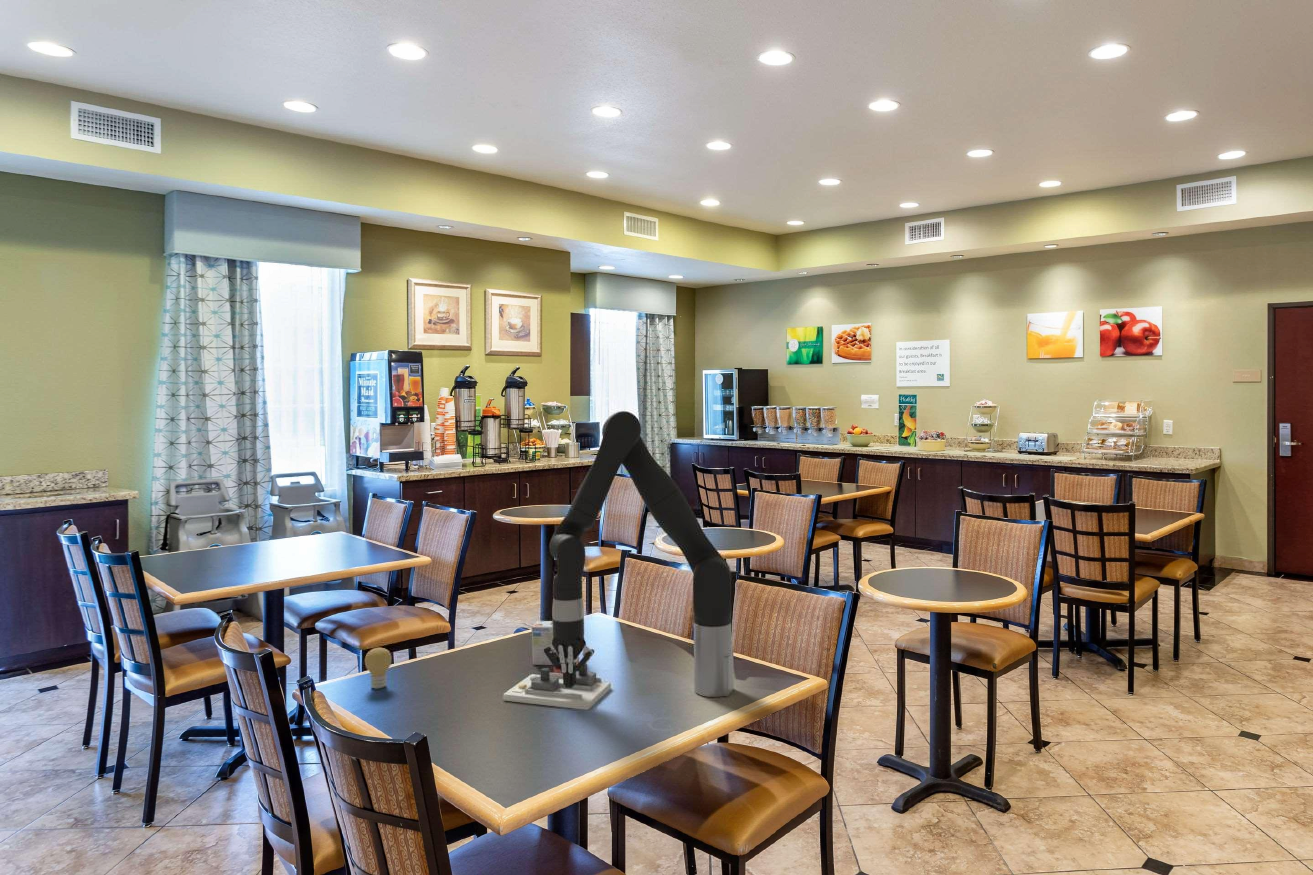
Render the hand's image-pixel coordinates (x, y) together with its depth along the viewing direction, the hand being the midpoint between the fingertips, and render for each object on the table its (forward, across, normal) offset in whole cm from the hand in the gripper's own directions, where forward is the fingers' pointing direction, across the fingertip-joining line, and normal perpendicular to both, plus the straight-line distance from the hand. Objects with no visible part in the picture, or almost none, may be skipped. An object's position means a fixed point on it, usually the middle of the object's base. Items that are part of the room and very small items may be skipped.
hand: (569, 686), depth 195 cm
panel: (+3, +4, -2) cm, 5 cm away
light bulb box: (+3, +16, -25) cm, 30 cm away
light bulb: (+3, +50, +6) cm, 50 cm away
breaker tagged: (+1, +6, 0) cm, 7 cm away
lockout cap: (+3, +7, -14) cm, 16 cm away
